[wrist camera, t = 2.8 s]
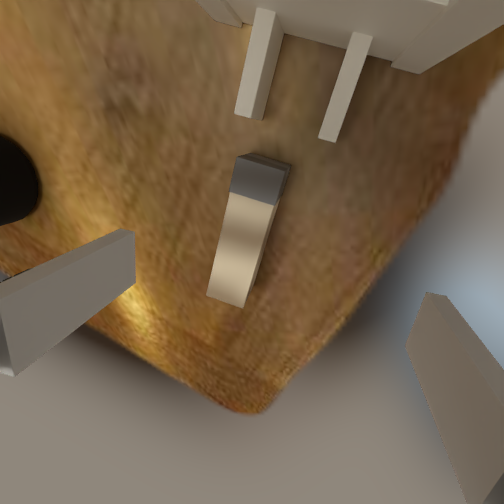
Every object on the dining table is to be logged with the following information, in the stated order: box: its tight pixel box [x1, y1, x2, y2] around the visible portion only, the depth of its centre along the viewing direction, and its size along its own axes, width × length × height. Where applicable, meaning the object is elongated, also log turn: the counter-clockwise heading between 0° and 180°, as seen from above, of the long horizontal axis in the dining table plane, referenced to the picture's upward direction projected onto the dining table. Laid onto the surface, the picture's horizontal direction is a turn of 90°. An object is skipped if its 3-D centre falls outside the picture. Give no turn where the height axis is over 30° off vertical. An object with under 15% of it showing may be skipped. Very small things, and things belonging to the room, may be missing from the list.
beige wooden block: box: [206, 153, 291, 308], centre depth 30 cm, size 14×4×5 cm, turn 165°
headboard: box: [195, 0, 504, 143], centre depth 20 cm, size 18×9×15 cm, turn 75°
